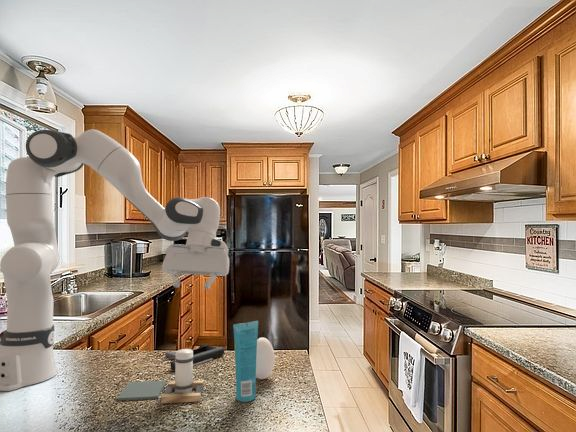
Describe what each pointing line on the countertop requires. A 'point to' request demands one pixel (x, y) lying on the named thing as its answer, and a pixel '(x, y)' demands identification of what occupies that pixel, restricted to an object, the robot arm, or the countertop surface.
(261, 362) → the egg
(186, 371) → the white cylinder
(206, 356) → the door handle
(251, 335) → the tube
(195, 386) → the cradle
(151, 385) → the mat
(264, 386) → the countertop surface
